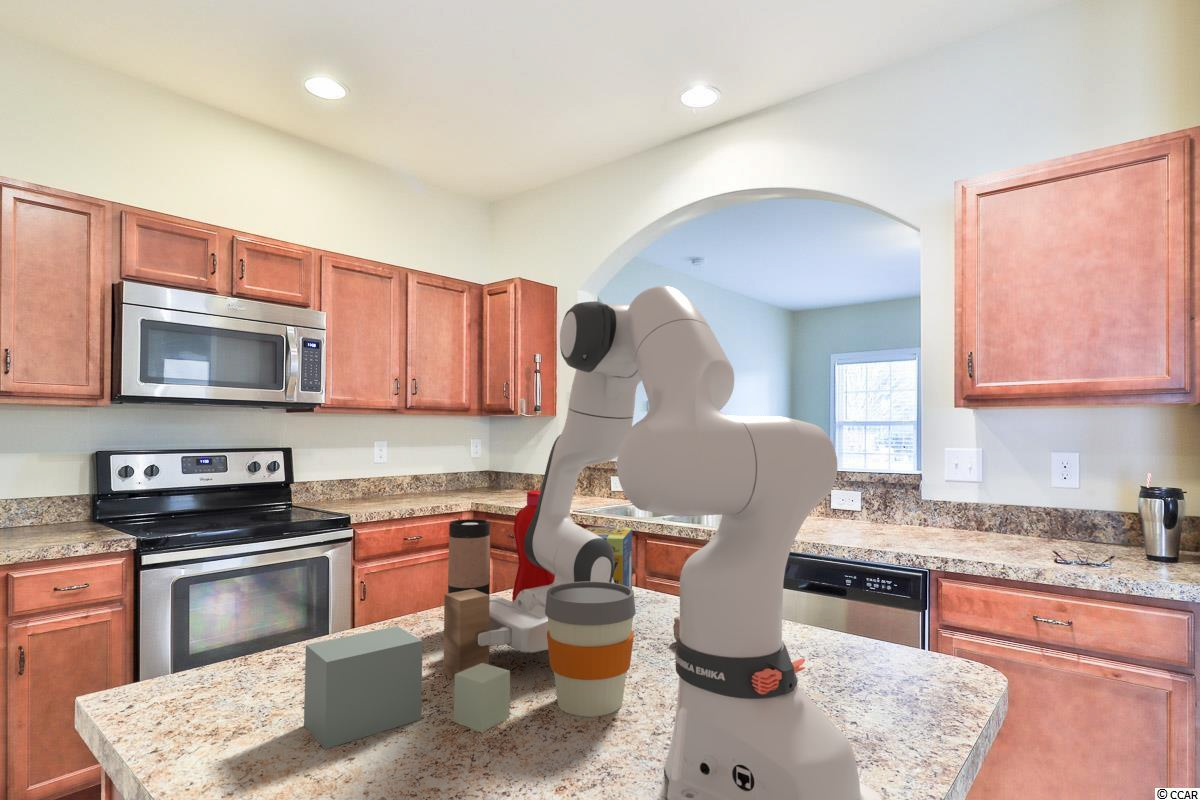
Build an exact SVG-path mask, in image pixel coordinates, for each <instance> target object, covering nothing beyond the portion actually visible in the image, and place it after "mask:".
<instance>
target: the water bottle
mask: <svg viewBox="0 0 1200 800" xmlns="http://www.w3.org/2000/svg"><path fill="white" fill-rule="evenodd" d="M540 492H541V489H533V490H532V489H531V490H528V491H526V505H525V506H524V507H523V508H521V509H520V510H518V512H517V513H516V514H515V517H514V521H513V522H514V523H513V535H514V538H515V544H516V551H517V557H518V558H517V559H518V567H517V572H516V575H515V581H514V584H513V588H512V596H511V597H512V600H511V601H512V602H513V601H514V600H516V597H517V595H518V594H519V593H520V592H521V591H522V590H525V589H530V588H535V587H541V586H546V585H550V584H552V583H553V582H554V580H555V575H553V574H552V573H550V572H549V571H546V570H544V569H542V568H540V567H538V566H536V565H534V564H533V563H531V562H530V561H529V559H528V558H527V556H526V553H525V547H524V542H525V536H526V533H527V530H528V527H529V525H530V523H531V521H532V519H533V516H534V514H535V511H536V508H537V504H538V500H539V496H540Z"/></svg>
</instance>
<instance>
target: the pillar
mask: <svg viewBox="0 0 1200 800" xmlns="http://www.w3.org/2000/svg"><path fill="white" fill-rule="evenodd" d="M490 597H491V595H490V594H489V595H488V594H485V593H482V592H480V591H477V590H474V589H471V590H465V591H460V592H454V593H449V594H448V593H445V594H444V600H443V601H444V606H443V607H444V608H443V609H444V610H443V611H444V612H443V613H444V614H443V669H442V670H443V674H444V675H445V676H447V678H449V679H452V680H453V681H454V678H455V674H457V673H459V672H461V671H464V670H466V669H469V668H471V667H474V666H476V665H478V664H481V663H485V664H488V665H490V644H489V645H485V646H480V645H478V644H476V643H475V633H476V632H478V631H482V630H487V631H489V613H490Z"/></svg>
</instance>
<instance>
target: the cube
mask: <svg viewBox="0 0 1200 800" xmlns="http://www.w3.org/2000/svg"><path fill="white" fill-rule="evenodd" d="M453 681H454V684H453V685H454V688H453V689H454V692H453V693H454V694H453V696H454V699H453V722H454V723H456V724H459V725H462V726H464V727H467V728H469V729H472V730H475V731H477V732H480V733H483V732H485V731H487V730H489V729H491V728H493V727H494V726H496V725H498V724H500V723H502V722H504V721H506V720H507V719H510V717H511V715H510V713H511V712H510V711H511V710H510V709H511V708H510V705H511V704H510V703H511V701H510V700H511V670H510V669H505V668H502V667H498V666H495V665H491V664H489V665H488V664H485V663H481V664H478V665H476V666H474V667H471V668H469V669H466V670H464V671H461V672H459V673H457V674H455V678H454V680H453Z"/></svg>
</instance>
